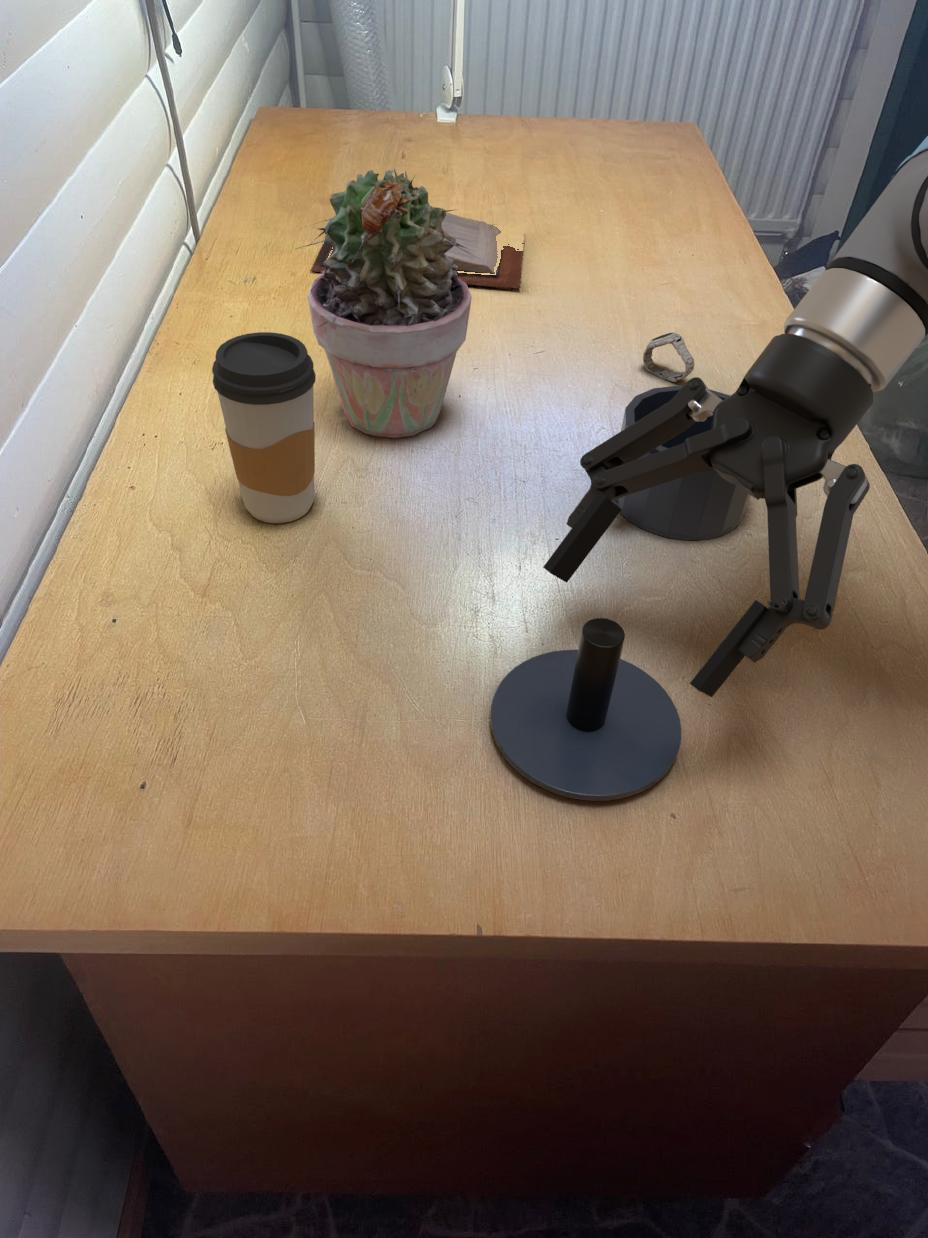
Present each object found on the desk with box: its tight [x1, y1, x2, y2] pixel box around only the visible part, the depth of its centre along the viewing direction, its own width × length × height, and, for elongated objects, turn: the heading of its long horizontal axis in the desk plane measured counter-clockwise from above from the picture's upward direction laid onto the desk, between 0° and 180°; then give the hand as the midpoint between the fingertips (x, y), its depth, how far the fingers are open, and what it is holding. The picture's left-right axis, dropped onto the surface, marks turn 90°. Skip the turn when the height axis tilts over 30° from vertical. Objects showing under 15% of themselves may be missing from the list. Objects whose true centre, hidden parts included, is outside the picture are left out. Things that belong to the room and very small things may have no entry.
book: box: [309, 212, 525, 291], centre depth 125 cm, size 20×28×4 cm
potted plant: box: [295, 168, 481, 439], centre depth 88 cm, size 18×20×25 cm
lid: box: [490, 617, 682, 802], centre depth 63 cm, size 14×14×10 cm
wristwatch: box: [642, 332, 695, 383], centre depth 103 cm, size 4×6×5 cm, turn 44°
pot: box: [615, 385, 752, 541], centre depth 84 cm, size 13×18×8 cm
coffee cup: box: [211, 331, 317, 524], centre depth 79 cm, size 8×8×15 cm
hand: (623, 629), depth 61 cm, fingers open, 13 cm apart
